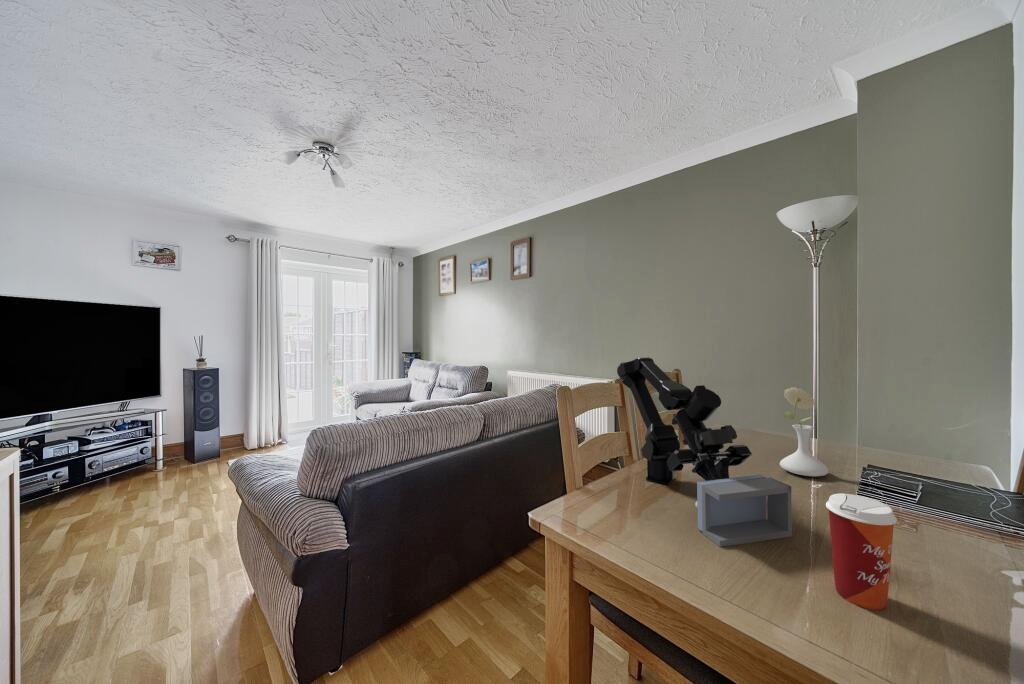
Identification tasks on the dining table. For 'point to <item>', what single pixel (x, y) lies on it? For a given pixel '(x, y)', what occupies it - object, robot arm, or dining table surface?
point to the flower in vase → (802, 439)
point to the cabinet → (755, 530)
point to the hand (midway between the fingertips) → (727, 494)
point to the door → (732, 506)
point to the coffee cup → (861, 548)
